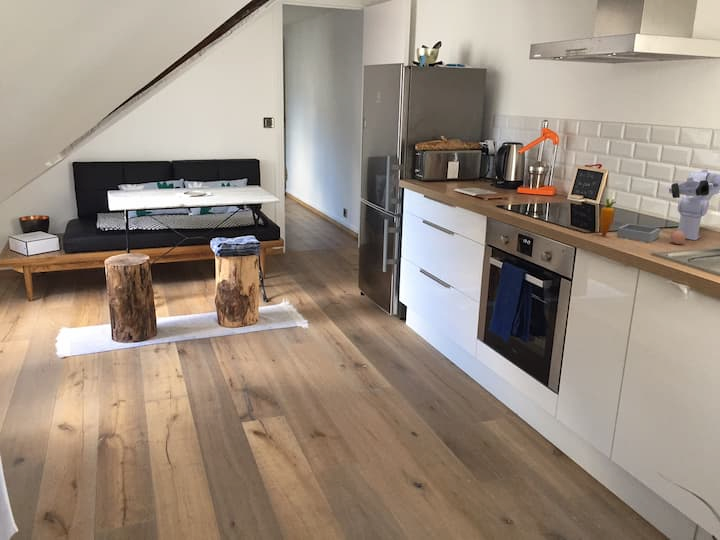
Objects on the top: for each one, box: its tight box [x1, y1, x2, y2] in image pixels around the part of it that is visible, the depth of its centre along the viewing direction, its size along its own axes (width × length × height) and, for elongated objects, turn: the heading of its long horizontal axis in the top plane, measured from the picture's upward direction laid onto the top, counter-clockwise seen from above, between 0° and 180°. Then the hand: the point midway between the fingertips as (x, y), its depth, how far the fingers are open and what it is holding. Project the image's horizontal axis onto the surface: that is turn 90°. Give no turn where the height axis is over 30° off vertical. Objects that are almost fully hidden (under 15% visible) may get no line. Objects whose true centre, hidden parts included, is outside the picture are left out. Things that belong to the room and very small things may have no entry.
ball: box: [670, 230, 686, 245], centre depth 226 cm, size 5×5×5 cm
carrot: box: [599, 197, 617, 237], centre depth 231 cm, size 5×5×15 cm
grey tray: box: [616, 223, 661, 244], centre depth 235 cm, size 14×12×4 cm
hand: (685, 193), depth 219 cm, fingers open, 7 cm apart
